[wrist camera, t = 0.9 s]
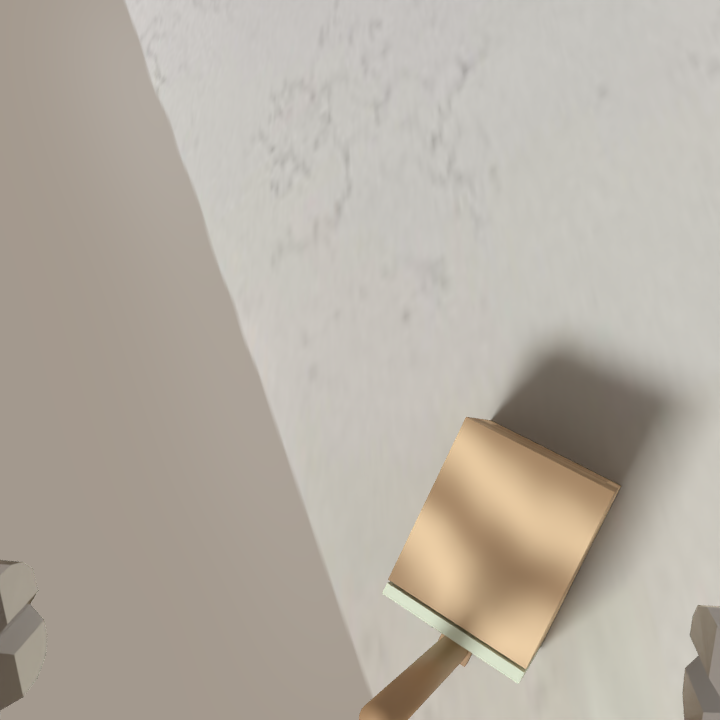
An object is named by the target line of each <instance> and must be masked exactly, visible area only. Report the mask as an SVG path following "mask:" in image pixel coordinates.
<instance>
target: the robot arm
mask: <svg viewBox="0 0 720 720" xmlns="http://www.w3.org/2000/svg"><path fill="white" fill-rule="evenodd" d="M37 592H38V587H37V583H36V579H35V575H34V571H33V568H31V567H30V566H28V565H26V564H25V563H23V562H17V561H6V560H0V710H2V709H4V708H5V707H7V706H9V705H11V704H12V703H14V702H16V701H18V700H19V699H21V698H23V697H24V695H25V694H26V693H27V691H28V690H29V689H30V687H31V686H32V685H33V683H34V682H35V681H36V679H37V677H38V675H39V672H40V670H41V667H42V664H43V662H44V659H45V656H46V647H47V633H46V627H45V621H44V619H43V618H42V617H41V616H40V615H39V614H38V612H37V611H36V610H35V609H34V608H33V607H32V606H31V602H32V600H33V599H34V597H35V595H36V593H37ZM690 637H691V639H692V642H693V644H694V646H695V648H696V651H697V653H698V655H699V656H698V657H697V658H695V659H694V660H693V661H692V662H691V663H690V664H689V665H688V666H687V667H686V668H685V673H684V683H683V707H684V720H720V606H706V605H698V606H697V608H696V610H695V612H694V615H693V617H692V624H691V630H690Z"/></svg>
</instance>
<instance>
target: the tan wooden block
mask: <svg viewBox="0 0 720 720" xmlns="http://www.w3.org/2000/svg"><path fill="white" fill-rule="evenodd" d="M620 487H621V485H619V484H617V483H615V482H613V481H611V480H609V479H607V478H605V477H603V476H601V475H599V474H597V473H595V472H593V471H591V470H589V469H587V468H585V467H583V466H581V465H579V464H577V463H575V462H573V461H571V460H569V459H567V458H565V457H563V456H561V455H559V454H557V453H555V452H553V451H551V450H549V449H547V448H545V447H543V446H541V445H539V444H537V443H535V442H533V441H531V440H529V439H527V438H525V437H523V436H521V435H519V434H517V433H515V432H513V431H511V430H509V429H507V428H505V427H503V426H501V425H499V424H497V423H495V422H493V421H491V420H484V419H477V418H470V417H466V418H465V420H464V422H463V425H462V427H461V429H460V431H459V433H458V435H457V437H456V439H455V441H454V443H453V445H452V447H451V450H450V452H449V454H448V456H447V458H446V460H445V462H444V464H443V466H442V468H441V470H440V473H439V475H438V477H437V479H436V481H435V483H434V485H433V487H432V489H431V491H430V493H429V495H428V498H427V500H426V502H425V504H424V506H423V508H422V510H421V512H420V514H419V516H418V518H417V520H416V523H415V525H414V527H413V529H412V531H411V533H410V535H409V537H408V539H407V541H406V543H405V545H404V548H403V550H402V552H401V554H400V556H399V558H398V560H397V562H396V564H395V566H394V568H393V571H392V573H391V575H390V577H389V579H388V580H390V581H391V582H393V583H394V584H396V585H397V586H399V587H400V588H402V589H403V590H405V591H406V592H408V593H409V594H411V595H413V596H414V597H416V598H417V599H419V600H420V601H422V602H423V603H425V604H426V605H428V606H429V607H431V608H432V609H434V610H436V611H437V612H439V613H440V614H442V615H443V616H445V617H446V618H448V619H449V620H451V621H452V622H454V623H455V624H457V625H459V626H460V627H462V628H463V629H465V630H466V631H468V632H469V633H471V634H472V635H474V636H475V637H477V638H478V639H480V640H482V641H483V642H485V643H486V644H488V645H489V646H491V647H492V648H494V649H495V650H497V651H498V652H500V653H501V654H503V655H505V656H506V657H508V658H509V659H511V660H512V661H514V662H515V663H517V664H518V665H520V666H521V667H523V668H524V669H526V668H527V667H528V665H529V664H530V662H531V660H532V659H533V657H534V655H535V654H536V652H537V650H538V649H539V647H540V645H541V644H542V642H543V640H544V639H545V637H546V635H547V633H548V631H549V629H550V627H551V625H552V623H553V621H554V619H555V617H556V615H557V613H558V611H559V609H560V607H561V605H562V603H563V601H564V599H565V597H566V595H567V593H568V591H569V589H570V587H571V585H572V583H573V581H574V579H575V577H576V575H577V573H578V571H579V569H580V567H581V565H582V563H583V561H584V559H585V557H586V555H587V553H588V551H589V549H590V547H591V545H592V543H593V541H594V539H595V537H596V535H597V533H598V531H599V529H600V527H601V525H602V523H603V521H604V519H605V517H606V515H607V513H608V511H609V509H610V507H611V505H612V503H613V501H614V499H615V497H616V495H617V493H618V491H619V489H620Z"/></svg>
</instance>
